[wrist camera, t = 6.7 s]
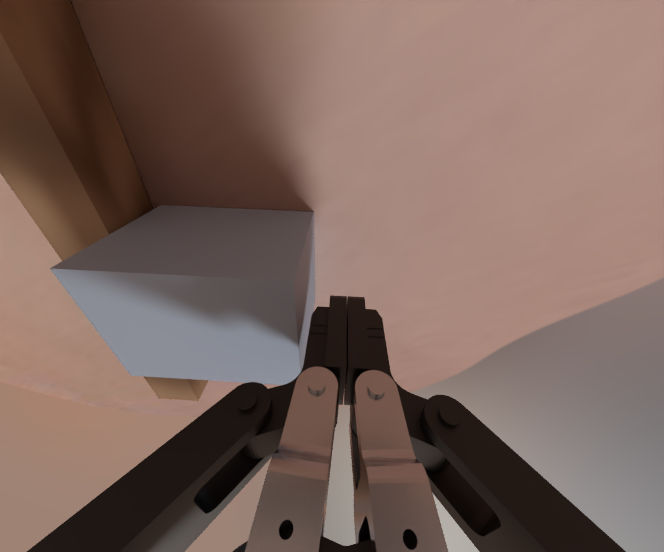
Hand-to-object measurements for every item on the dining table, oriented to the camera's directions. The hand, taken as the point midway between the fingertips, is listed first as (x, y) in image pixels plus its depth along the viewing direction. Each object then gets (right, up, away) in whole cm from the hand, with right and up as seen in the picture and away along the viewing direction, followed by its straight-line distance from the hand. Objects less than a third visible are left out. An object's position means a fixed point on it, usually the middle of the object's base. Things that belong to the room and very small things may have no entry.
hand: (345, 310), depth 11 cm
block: (-6, +3, +3) cm, 7 cm away
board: (-12, +3, +3) cm, 12 cm away
